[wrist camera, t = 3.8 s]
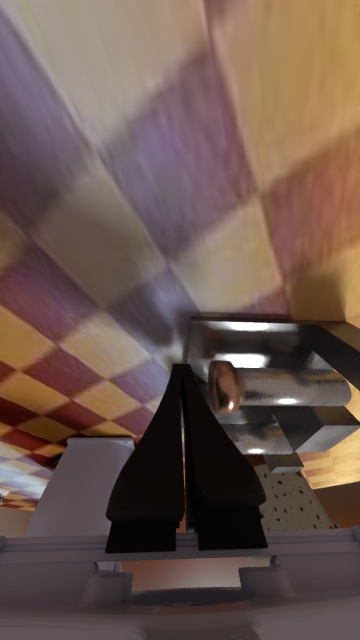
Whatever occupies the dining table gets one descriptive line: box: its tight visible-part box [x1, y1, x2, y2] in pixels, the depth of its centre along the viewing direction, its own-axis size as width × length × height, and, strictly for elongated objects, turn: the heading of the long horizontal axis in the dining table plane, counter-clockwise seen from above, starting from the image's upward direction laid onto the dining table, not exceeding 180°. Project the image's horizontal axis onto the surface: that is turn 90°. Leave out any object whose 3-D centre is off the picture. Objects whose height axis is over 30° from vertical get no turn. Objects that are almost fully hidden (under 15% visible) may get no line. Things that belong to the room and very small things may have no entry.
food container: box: [243, 454, 340, 560], centre depth 22 cm, size 12×6×10 cm, turn 99°
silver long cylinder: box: [220, 423, 293, 454], centre depth 16 cm, size 9×4×4 cm, turn 87°
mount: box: [181, 317, 360, 473], centre depth 14 cm, size 13×17×5 cm
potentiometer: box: [197, 382, 216, 415], centre depth 13 cm, size 3×3×4 cm
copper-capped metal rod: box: [208, 360, 351, 414], centre depth 11 cm, size 9×4×4 cm, turn 87°
